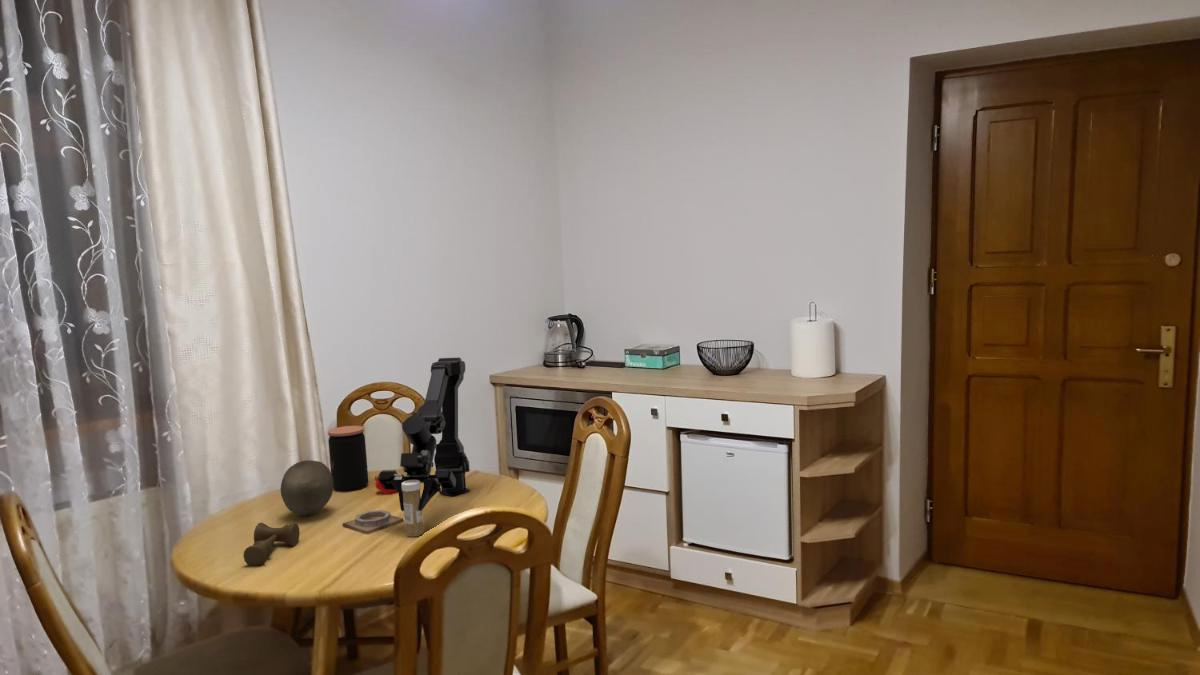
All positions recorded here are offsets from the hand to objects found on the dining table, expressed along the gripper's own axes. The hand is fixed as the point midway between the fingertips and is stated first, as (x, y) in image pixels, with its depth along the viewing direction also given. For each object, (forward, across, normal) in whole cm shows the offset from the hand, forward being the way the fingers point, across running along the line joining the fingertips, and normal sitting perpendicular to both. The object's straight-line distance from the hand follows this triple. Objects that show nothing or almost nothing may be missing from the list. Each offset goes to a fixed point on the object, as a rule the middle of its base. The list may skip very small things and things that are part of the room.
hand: (411, 510), depth 196 cm
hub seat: (-2, -14, +11) cm, 18 cm away
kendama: (+11, -32, -1) cm, 34 cm away
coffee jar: (-26, -35, +35) cm, 56 cm away
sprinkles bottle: (+4, 0, +6) cm, 7 cm away
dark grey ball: (-7, -35, +17) cm, 40 cm away
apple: (-22, -21, +31) cm, 43 cm away
